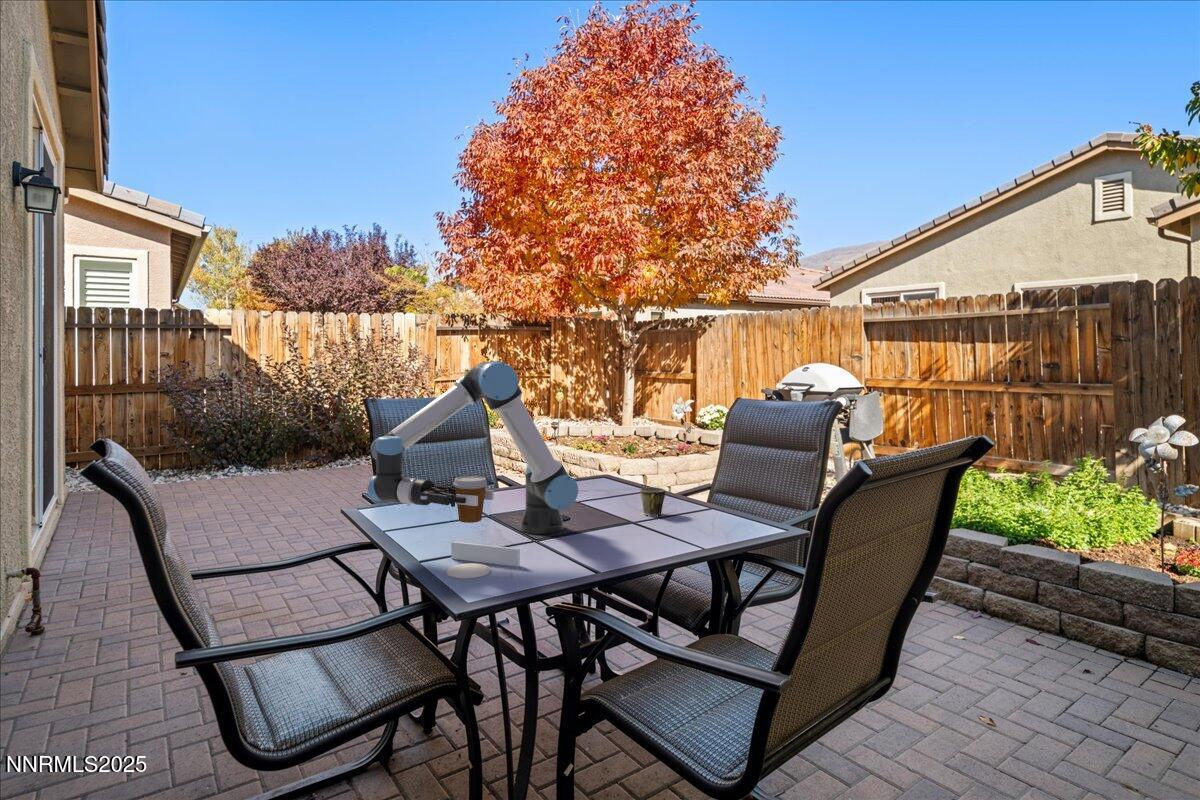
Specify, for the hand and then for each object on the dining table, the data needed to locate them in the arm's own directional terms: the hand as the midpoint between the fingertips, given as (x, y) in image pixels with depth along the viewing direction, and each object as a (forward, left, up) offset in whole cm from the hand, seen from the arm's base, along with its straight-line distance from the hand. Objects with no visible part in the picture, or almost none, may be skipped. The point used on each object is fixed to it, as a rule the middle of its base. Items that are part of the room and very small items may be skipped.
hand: (485, 498), depth 184 cm
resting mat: (+4, +2, -21) cm, 21 cm away
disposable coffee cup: (+5, -1, -7) cm, 9 cm away
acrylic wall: (+2, -7, -21) cm, 22 cm away
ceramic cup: (-47, -72, -21) cm, 88 cm away
